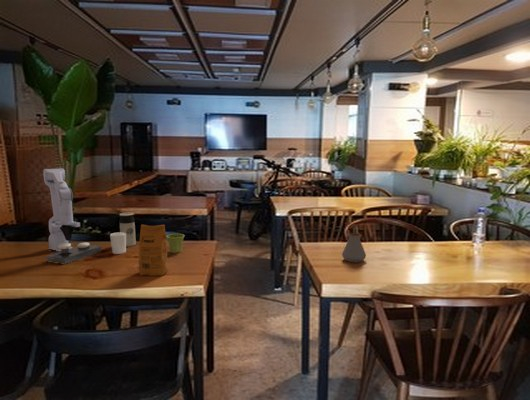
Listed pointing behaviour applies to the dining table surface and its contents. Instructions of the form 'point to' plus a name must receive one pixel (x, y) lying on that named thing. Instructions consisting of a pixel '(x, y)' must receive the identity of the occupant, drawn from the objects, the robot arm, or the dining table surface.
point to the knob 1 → (64, 248)
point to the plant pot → (175, 242)
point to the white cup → (118, 242)
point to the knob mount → (74, 254)
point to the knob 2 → (83, 245)
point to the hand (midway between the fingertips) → (68, 240)
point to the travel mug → (128, 228)
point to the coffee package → (153, 250)
